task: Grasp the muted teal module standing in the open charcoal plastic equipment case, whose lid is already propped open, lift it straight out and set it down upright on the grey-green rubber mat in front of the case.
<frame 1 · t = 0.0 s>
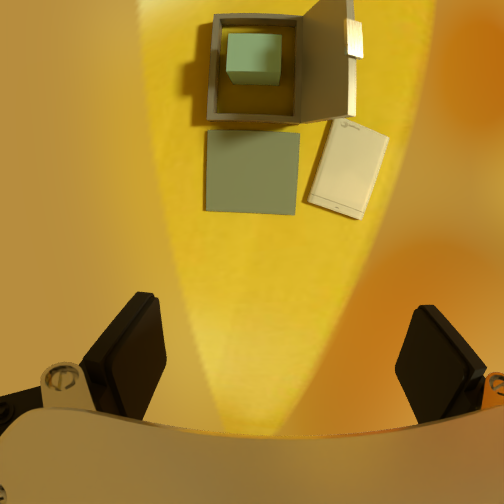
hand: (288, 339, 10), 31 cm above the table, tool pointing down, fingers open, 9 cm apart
mat: (252, 171, 38), on the table
lid: (326, 53, 25), point 8 cm above the table, hinge at 105.0°
case: (256, 68, 34), on the table
module: (256, 68, 34), resting in case
hard drive: (347, 167, 38), on the table
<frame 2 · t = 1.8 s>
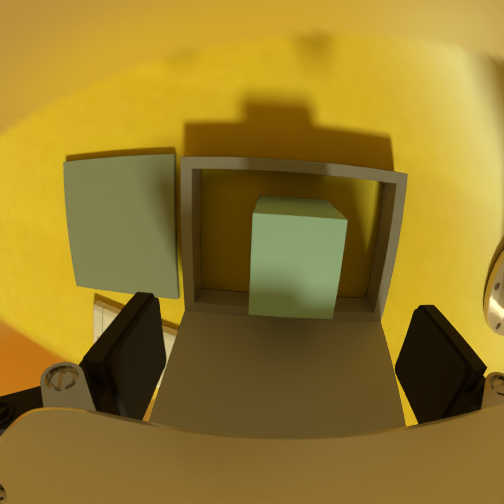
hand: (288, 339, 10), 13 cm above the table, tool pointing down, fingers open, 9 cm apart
mat: (117, 227, 24), on the table
lid: (283, 390, 17), point 8 cm above the table, hinge at 105.0°
case: (290, 236, 23), on the table
module: (290, 235, 23), resting in case
hard drive: (151, 348, 28), on the table
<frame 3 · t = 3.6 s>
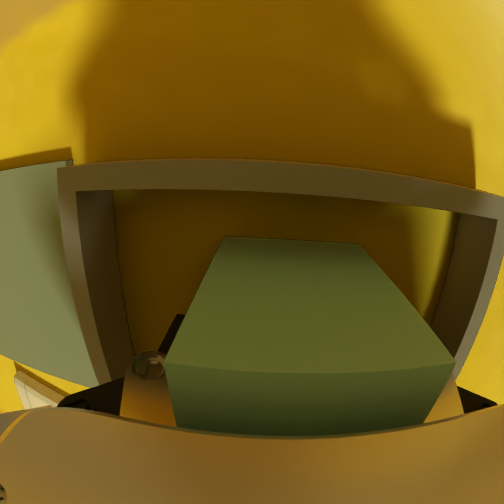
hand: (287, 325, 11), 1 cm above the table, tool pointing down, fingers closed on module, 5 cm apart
mat: (14, 280, 12), on the table
case: (287, 312, 12), on the table
module: (286, 311, 12), resting in case, touching gripper
hard drive: (96, 430, 17), on the table
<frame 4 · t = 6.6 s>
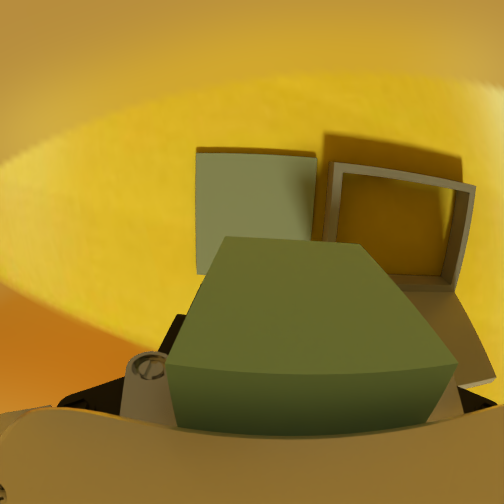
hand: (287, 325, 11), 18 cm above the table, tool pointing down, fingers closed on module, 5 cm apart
mat: (253, 217, 28), on the table
lid: (411, 340, 22), point 8 cm above the table, hinge at 105.0°
case: (397, 228, 27), on the table
module: (287, 312, 12), point 17 cm above the table, touching gripper
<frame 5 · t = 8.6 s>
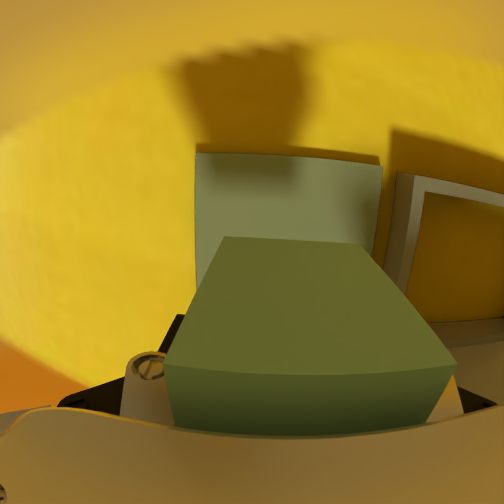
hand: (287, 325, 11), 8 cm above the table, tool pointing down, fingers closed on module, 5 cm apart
mat: (284, 253, 18), on the table
lid: (484, 415, 12), point 8 cm above the table, hinge at 105.0°
case: (470, 264, 18), on the table
module: (286, 312, 12), point 7 cm above the table, touching gripper
when the fingers open (3 cm above the table, at t = 10.0 s): module drops 1 cm, resting on mat.
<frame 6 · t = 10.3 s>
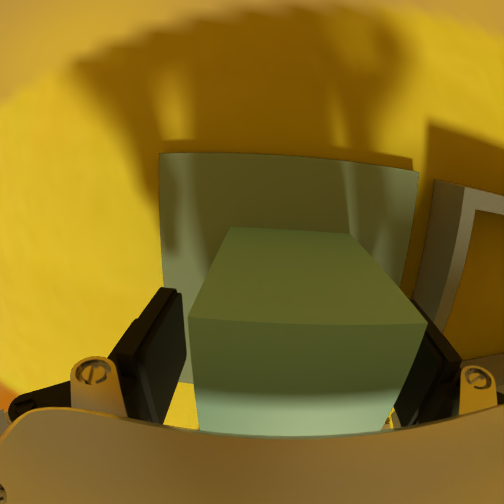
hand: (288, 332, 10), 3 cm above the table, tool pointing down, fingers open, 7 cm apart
mat: (283, 290, 14), on the table
module: (285, 295, 13), resting on mat
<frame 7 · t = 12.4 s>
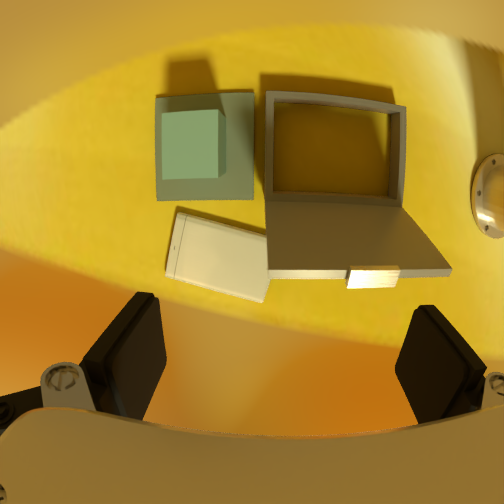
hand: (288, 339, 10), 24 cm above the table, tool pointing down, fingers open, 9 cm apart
mat: (203, 146, 31), on the table
lid: (353, 236, 25), point 8 cm above the table, hinge at 105.0°
case: (334, 149, 31), on the table
module: (203, 146, 30), resting on mat
hard drive: (222, 255, 36), on the table
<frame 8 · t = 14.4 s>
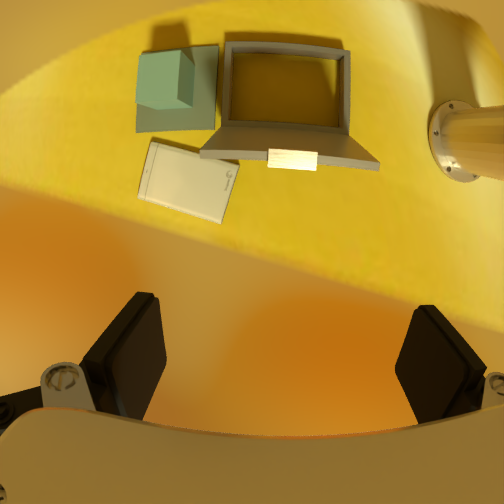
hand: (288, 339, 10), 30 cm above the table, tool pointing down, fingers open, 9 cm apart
mat: (176, 88, 34), on the table
lid: (288, 143, 28), point 8 cm above the table, hinge at 105.0°
case: (286, 88, 34), on the table
module: (175, 87, 34), resting on mat
hard drive: (188, 180, 39), on the table
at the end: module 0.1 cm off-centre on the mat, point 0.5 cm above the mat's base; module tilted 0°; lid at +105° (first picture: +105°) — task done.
